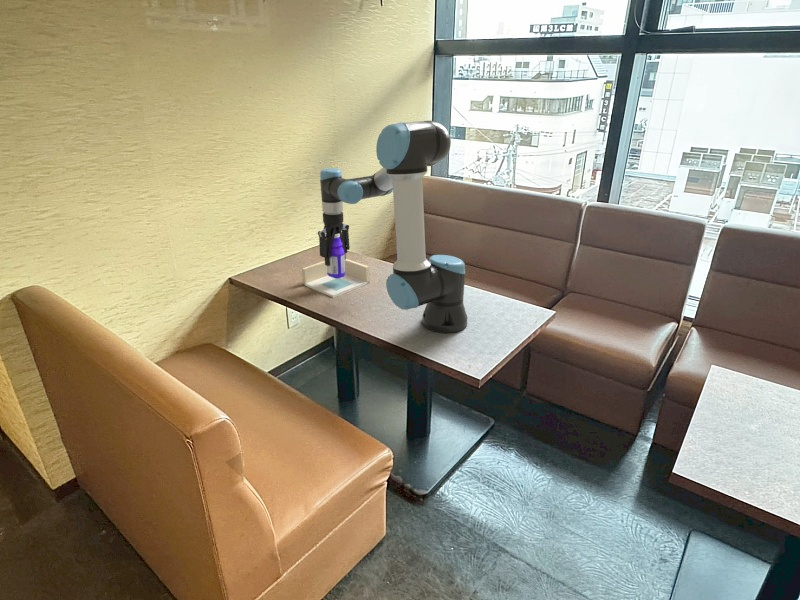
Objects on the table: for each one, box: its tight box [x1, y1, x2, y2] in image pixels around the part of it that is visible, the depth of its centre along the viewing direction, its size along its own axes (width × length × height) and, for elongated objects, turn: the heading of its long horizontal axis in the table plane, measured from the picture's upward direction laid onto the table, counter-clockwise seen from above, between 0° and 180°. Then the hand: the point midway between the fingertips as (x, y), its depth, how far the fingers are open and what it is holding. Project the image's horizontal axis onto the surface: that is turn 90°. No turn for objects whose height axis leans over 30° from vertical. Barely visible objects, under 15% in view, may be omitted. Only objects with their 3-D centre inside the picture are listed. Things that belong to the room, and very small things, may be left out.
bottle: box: [327, 233, 345, 278], centre depth 192 cm, size 7×6×17 cm
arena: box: [301, 258, 370, 299], centre depth 198 cm, size 18×19×7 cm
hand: (336, 270), depth 195 cm, fingers closed on bottle, 5 cm apart
